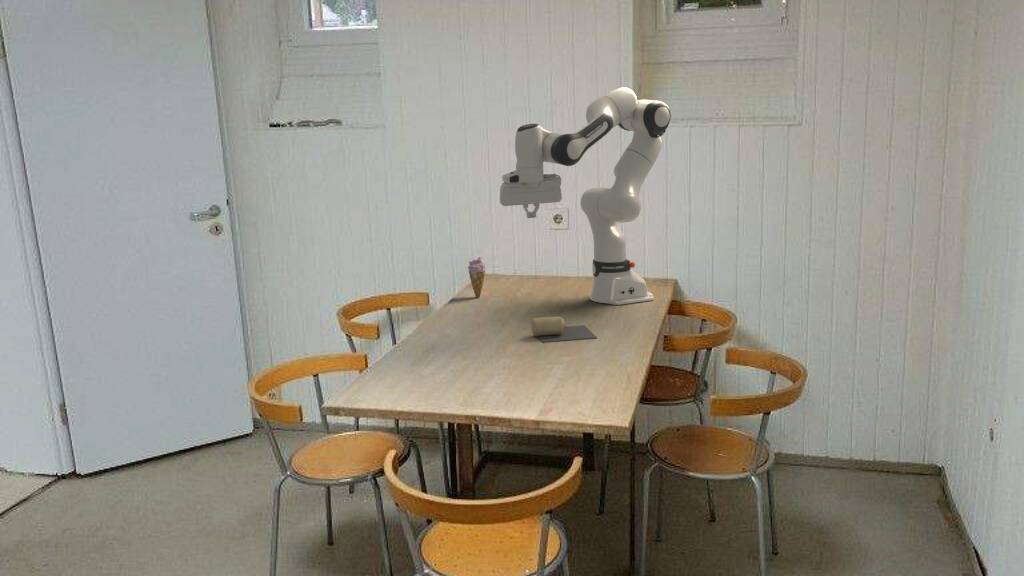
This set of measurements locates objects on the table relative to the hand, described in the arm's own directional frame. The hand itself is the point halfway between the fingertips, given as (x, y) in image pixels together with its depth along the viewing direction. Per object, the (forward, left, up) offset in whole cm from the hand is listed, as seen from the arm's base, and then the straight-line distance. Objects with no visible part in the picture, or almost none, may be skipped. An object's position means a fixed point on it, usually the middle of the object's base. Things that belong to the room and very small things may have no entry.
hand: (531, 217), depth 297 cm
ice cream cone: (+15, -27, -33) cm, 45 cm away
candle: (+6, +26, -30) cm, 40 cm away
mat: (-4, +26, -33) cm, 42 cm away
